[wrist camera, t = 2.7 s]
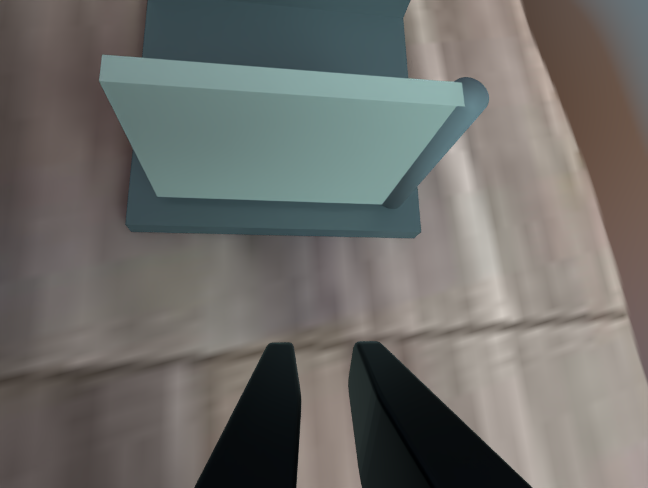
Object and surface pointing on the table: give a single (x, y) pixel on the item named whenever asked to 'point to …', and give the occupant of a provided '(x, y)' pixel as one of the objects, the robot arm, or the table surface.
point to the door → (285, 129)
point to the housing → (285, 53)
